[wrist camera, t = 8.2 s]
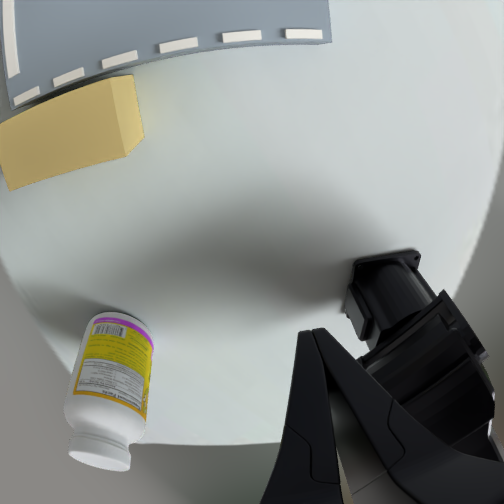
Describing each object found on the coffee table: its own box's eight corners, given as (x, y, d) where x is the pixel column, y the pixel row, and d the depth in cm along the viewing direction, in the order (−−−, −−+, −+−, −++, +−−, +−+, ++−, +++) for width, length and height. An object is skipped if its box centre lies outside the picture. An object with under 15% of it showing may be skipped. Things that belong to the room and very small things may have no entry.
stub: (133, 74, 14) (109, 77, 11) (144, 137, 16) (126, 156, 13) (26, 113, 14) (-10, 129, 10) (40, 167, 16) (9, 191, 13)
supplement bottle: (128, 361, 28) (112, 476, 18) (77, 327, 25) (42, 448, 14) (170, 337, 26) (161, 472, 16) (114, 296, 23) (77, 442, 13)
